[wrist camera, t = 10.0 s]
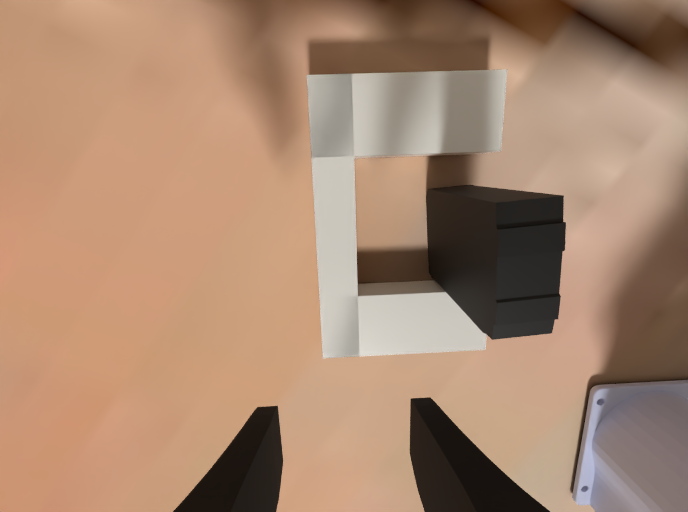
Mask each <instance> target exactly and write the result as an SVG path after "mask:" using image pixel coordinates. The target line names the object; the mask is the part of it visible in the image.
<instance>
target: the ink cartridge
mask: <svg viewBox="0 0 688 512" xmlns="http://www.w3.org/2000/svg"><path fill="white" fill-rule="evenodd" d="M563 197H564V196H561V195H552V194H543V193H534V192H525V191H516V190H507V189H499V188H490V187H481V186H473V185H464V186H454V187H444V188H434V189H428V191H427V196H426V205H427V235H428V262H429V273H430V275H431V277H432V278H433V279H434V280H435V281H436V282H437V283H438V284H439V285H440V286H441V287H442V288H443V289H444V291H445V292H446V293H447V294H448V295H449V296H450V297H451V298H452V299H453V300H454V302H455V303H456V304H457V305H458V306H459V307H460V308H461V309H462V310H463V311H464V312H465V314H466V315H467V316H468V317H469V318H470V319H471V320H472V321H473V322H474V323H475V325H476V326H477V327H478V328H479V329H480V330H481V331H482V332H483V333H485V334H487V335H488V336H489V337H490V338H491V339H502V338H511V337H521V336H530V335H539V334H549V333H552V330H553V325H554V320H555V319H558V315H559V306H560V297H561V296H560V294H559V287H560V275H561V262H562V251H565V229H566V223H565V222H563Z"/></svg>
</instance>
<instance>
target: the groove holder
mask: <svg viewBox="0 0 688 512" xmlns="http://www.w3.org/2000/svg"><path fill="white" fill-rule="evenodd" d="M506 80H507V69H503V70H467V71H431V72H395V73H359V74H323V75H307V88H308V105H309V123H310V140H311V158H312V175H313V193H314V210H315V228H316V245H317V263H318V280H319V298H320V315H321V333H322V350H323V358H337V357H356V356H375V355H395V354H414V353H433V352H453V351H472V350H486V337H487V334H485V333H483V332H482V331H481V330H480V329H479V328H478V327H477V326H476V325H475V323H474V322H473V321H472V320H471V319H470V318H469V317H468V316H467V315H466V314H465V312H464V311H463V310H462V309H461V308H460V307H459V306H458V305H457V304H456V303H455V302H454V300H453V299H452V298H451V297H450V296H449V295H448V294H447V293H446V292H445V291H444V289H443V288H442V287H441V286H440V285H439V284H438V283H437V282H436V281H435V280H430V281H408V282H386V283H364V284H358V282H357V245H356V207H355V170H354V158H382V157H411V156H440V155H468V154H485V153H492V152H498V151H501V145H502V132H503V119H504V106H505V93H506Z"/></svg>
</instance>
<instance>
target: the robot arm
mask: <svg viewBox="0 0 688 512" xmlns="http://www.w3.org/2000/svg"><path fill="white" fill-rule="evenodd" d="M598 399H599V400H598ZM410 456H411V461H412V466H413V470H414V475H415V479H416V484H417V488H418V492H419V495H420V498H421V501H422V504H423V507H424V510H425V512H550V511H549V510H547V509H546V508H545V507H544V506H542V505H541V504H540V503H539V502H537V501H536V500H535V499H534V498H532V497H531V496H530V495H529V494H528V493H526V492H525V491H524V490H523V489H522V488H520V487H519V486H518V485H517V484H516V483H515V482H514V481H512V480H511V479H510V478H509V477H508V476H507V475H506V474H505V473H504V472H503V471H501V470H500V469H499V468H498V467H497V466H496V465H495V464H494V463H493V462H492V461H491V460H490V459H489V458H488V457H487V456H486V455H485V454H484V453H483V452H482V451H481V450H480V449H479V448H478V447H477V446H476V445H475V444H474V443H473V442H472V441H471V440H470V439H469V438H468V437H467V436H466V435H465V434H464V433H463V432H462V431H461V430H460V429H459V428H458V427H457V426H456V425H455V424H454V423H453V422H452V420H451V419H450V418H449V417H448V416H447V415H446V414H445V413H444V412H443V411H442V409H441V408H440V407H439V406H438V405H437V404H436V403H435V402H434V401H433V400H432V399H431V398H413V399H411V416H410ZM282 466H283V455H282V445H281V435H280V425H279V415H278V406H270V407H257V409H256V410H255V411H254V412H253V413H252V415H251V416H250V418H249V419H248V420H247V422H246V423H245V425H244V426H243V427H242V429H241V430H240V431H239V433H238V434H237V435H236V437H235V438H234V440H233V441H232V442H231V444H230V445H229V446H228V447H227V449H226V450H225V451H224V452H223V454H222V455H221V456H220V458H219V459H218V460H217V461H216V463H215V464H214V465H213V466H212V468H211V469H210V470H209V471H208V473H207V474H206V475H205V476H204V477H203V478H202V480H201V481H200V482H199V483H198V484H197V485H196V486H195V488H194V489H193V490H192V491H191V492H190V493H189V495H188V496H187V497H186V498H185V499H184V500H183V501H182V503H181V504H180V505H179V506H178V507H177V508H176V509H175V510H174V511H173V512H276V509H277V504H278V500H279V492H280V484H281V475H282ZM572 498H573V500H574V501H575V502H576V504H578V505H591V507H592V508H593V509H594V510H595V512H688V380H677V381H659V382H641V383H622V384H604V385H596V386H594V387H592V389H591V391H590V395H589V401H588V407H587V413H586V418H585V424H584V430H583V436H582V442H581V448H580V454H579V460H578V465H577V471H576V477H575V483H574V489H573V495H572Z"/></svg>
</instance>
